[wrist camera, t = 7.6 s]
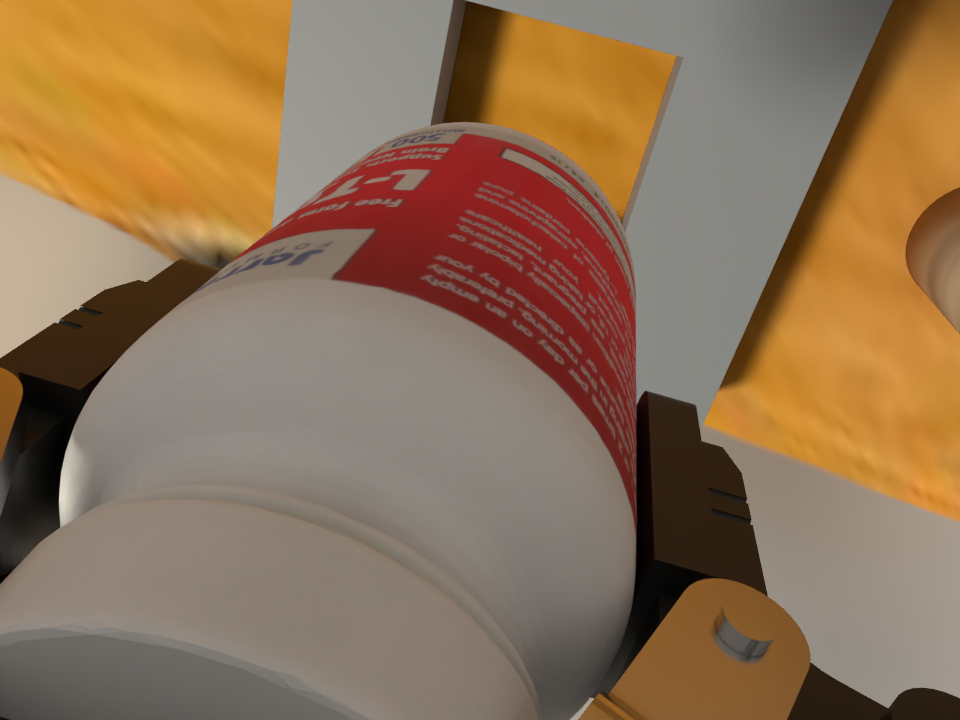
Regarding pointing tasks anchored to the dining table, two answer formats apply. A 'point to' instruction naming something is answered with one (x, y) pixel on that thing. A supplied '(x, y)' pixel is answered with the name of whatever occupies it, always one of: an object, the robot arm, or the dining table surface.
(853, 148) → the dining table surface
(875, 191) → the dining table surface
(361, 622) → the pill bottle
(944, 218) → the walnut stub
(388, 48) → the hole plate
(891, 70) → the dining table surface
